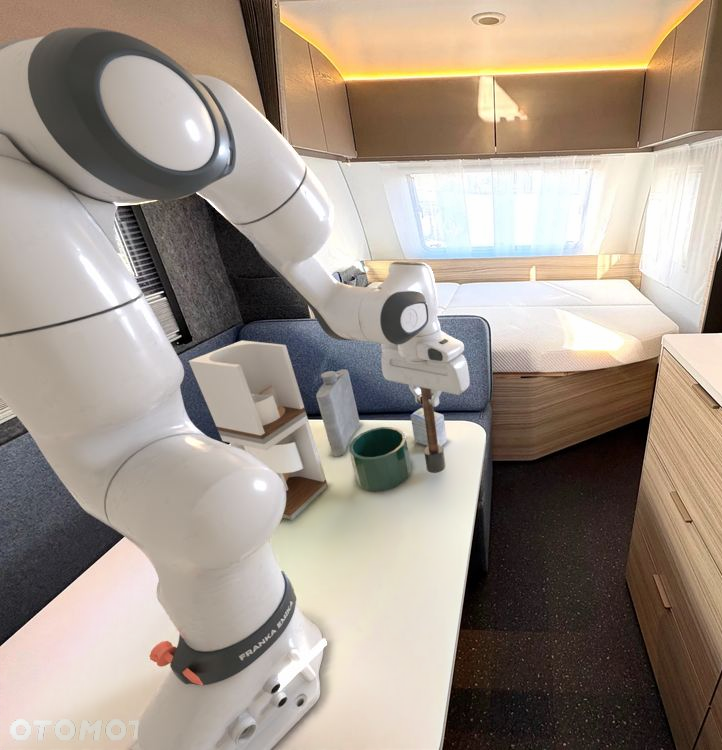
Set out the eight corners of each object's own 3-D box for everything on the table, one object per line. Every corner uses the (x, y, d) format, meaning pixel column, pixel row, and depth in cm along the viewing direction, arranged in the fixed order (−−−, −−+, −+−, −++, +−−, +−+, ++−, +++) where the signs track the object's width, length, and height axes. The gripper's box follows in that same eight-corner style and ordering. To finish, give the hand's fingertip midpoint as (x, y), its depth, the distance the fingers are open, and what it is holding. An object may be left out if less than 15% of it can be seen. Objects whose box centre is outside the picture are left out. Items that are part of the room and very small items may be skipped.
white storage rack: (251, 508, 83) (188, 360, 68) (289, 477, 92) (241, 340, 77) (292, 520, 80) (235, 367, 65) (327, 486, 89) (285, 344, 74)
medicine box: (447, 442, 103) (444, 414, 99) (436, 450, 100) (432, 422, 96) (425, 433, 107) (421, 406, 103) (414, 442, 104) (409, 414, 100)
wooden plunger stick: (438, 475, 88) (427, 389, 79) (422, 470, 90) (410, 385, 80) (448, 464, 91) (439, 380, 82) (433, 459, 93) (422, 377, 84)
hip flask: (342, 456, 99) (324, 387, 91) (327, 456, 99) (307, 388, 91) (361, 422, 114) (347, 360, 105) (348, 423, 114) (332, 361, 105)
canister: (387, 497, 85) (380, 465, 81) (345, 482, 90) (336, 450, 86) (421, 464, 95) (416, 433, 91) (382, 452, 100) (376, 422, 96)
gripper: (369, 342, 79) (380, 401, 85) (454, 355, 71) (459, 420, 77) (390, 333, 84) (399, 389, 90) (471, 344, 76) (475, 405, 82)
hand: (427, 403), depth 83 cm, fingers closed on wooden plunger stick, 2 cm apart
